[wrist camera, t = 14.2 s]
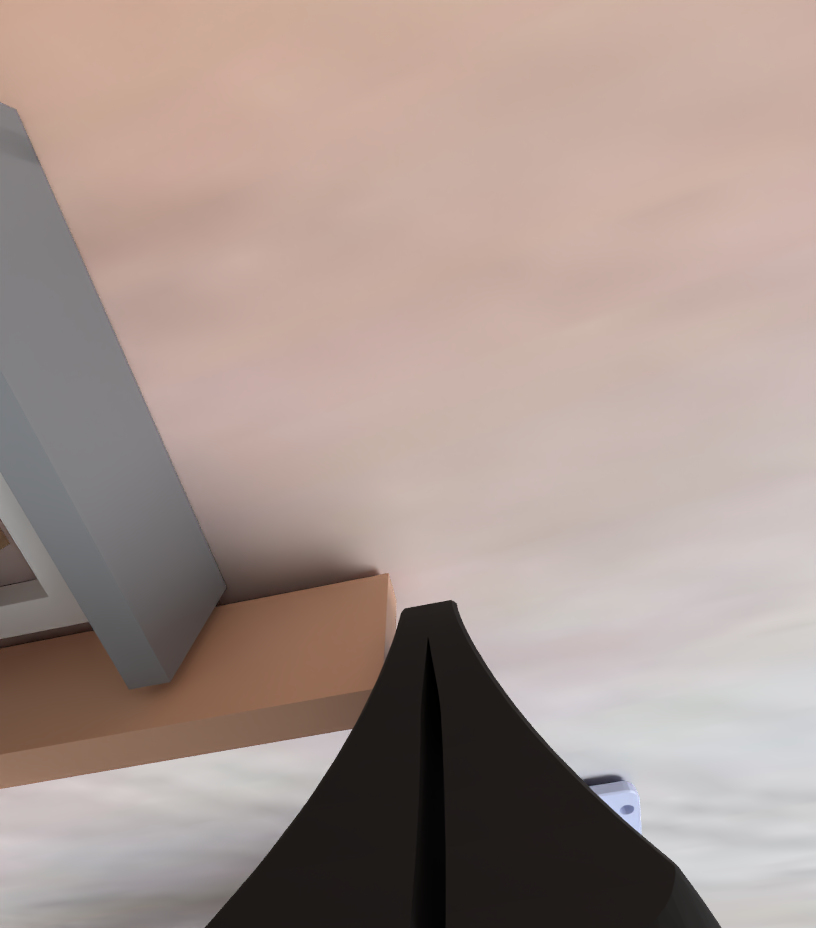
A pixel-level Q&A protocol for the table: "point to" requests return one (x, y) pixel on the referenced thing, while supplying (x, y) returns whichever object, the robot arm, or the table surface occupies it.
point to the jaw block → (3, 540)
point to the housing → (85, 453)
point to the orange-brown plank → (198, 685)
